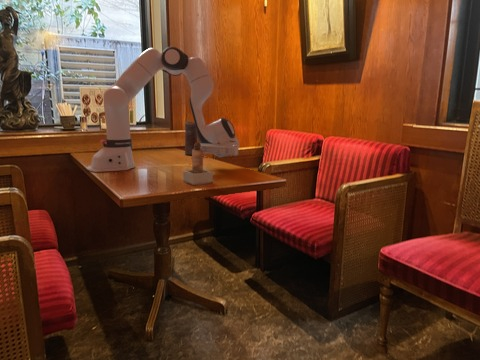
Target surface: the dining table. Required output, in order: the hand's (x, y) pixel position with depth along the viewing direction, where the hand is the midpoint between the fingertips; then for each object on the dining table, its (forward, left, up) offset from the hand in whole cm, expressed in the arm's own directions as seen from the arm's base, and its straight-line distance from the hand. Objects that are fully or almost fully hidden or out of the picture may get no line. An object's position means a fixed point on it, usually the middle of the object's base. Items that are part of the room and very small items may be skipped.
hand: (209, 151), depth 163 cm
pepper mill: (-10, -7, -11) cm, 16 cm away
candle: (+23, +62, -12) cm, 67 cm away
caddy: (-10, -7, -11) cm, 17 cm away
